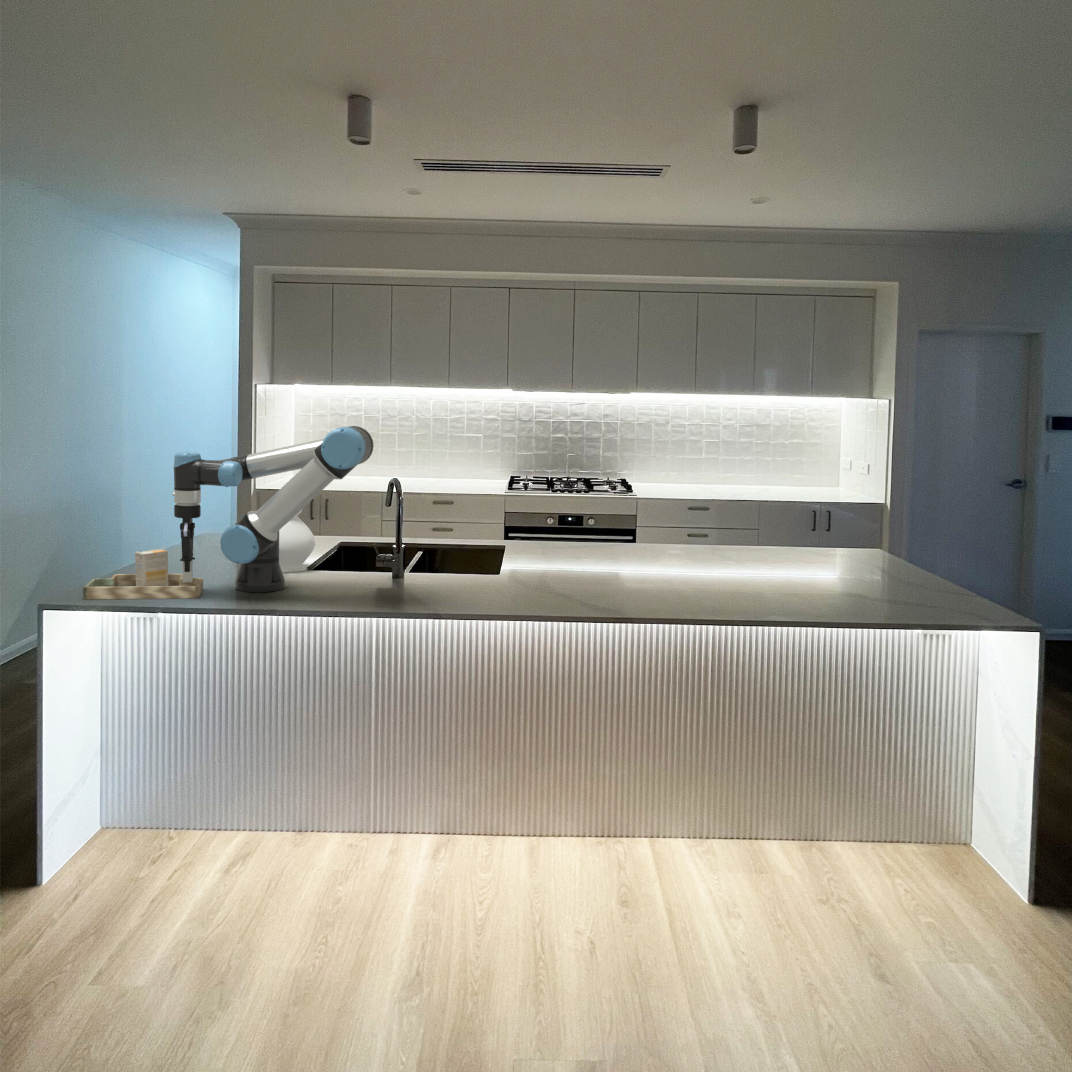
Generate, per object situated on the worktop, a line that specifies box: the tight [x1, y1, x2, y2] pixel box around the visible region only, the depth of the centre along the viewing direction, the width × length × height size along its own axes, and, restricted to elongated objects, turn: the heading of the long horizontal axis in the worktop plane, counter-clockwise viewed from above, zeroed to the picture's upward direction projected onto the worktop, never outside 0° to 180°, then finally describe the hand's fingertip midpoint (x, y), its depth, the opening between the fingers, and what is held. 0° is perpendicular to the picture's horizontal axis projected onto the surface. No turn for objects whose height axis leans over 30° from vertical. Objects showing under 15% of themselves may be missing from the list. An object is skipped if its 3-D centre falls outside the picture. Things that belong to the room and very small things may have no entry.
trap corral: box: [82, 573, 204, 600], centre depth 325 cm, size 32×21×4 cm, turn 102°
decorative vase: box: [279, 508, 316, 573], centre depth 368 cm, size 18×18×25 cm
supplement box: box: [134, 548, 169, 586], centre depth 321 cm, size 8×5×13 cm, turn 141°
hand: (187, 581), depth 324 cm, fingers closed
